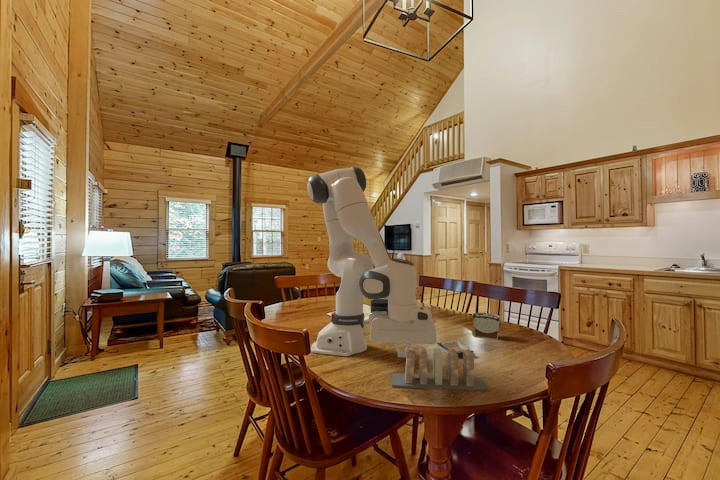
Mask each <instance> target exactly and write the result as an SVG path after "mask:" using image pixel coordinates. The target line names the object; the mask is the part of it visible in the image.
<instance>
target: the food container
mask: <svg viewBox="0 0 720 480" xmlns="http://www.w3.org/2000/svg"><path fill="white" fill-rule="evenodd" d="M471 319H472V321H473V322H472V323H473V330H474V337H478V338H483V339H490V340H494V341H497V340H498V337H499V330H500V328H499V327H500V322H502V320H501V317H500V315H498V314H495V313H490V312H475V313H472V315H471Z"/></svg>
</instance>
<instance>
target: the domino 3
mask: <svg viewBox="0 0 720 480" xmlns="http://www.w3.org/2000/svg"><path fill="white" fill-rule="evenodd" d="M457 353H458V351H457V350H456V349H455V348H448V353H447V359H448V360H447V370H448V371H447V376H448V378H449V381H450V383H451V385H457V386H458V376H459V357H458V354H457Z"/></svg>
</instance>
